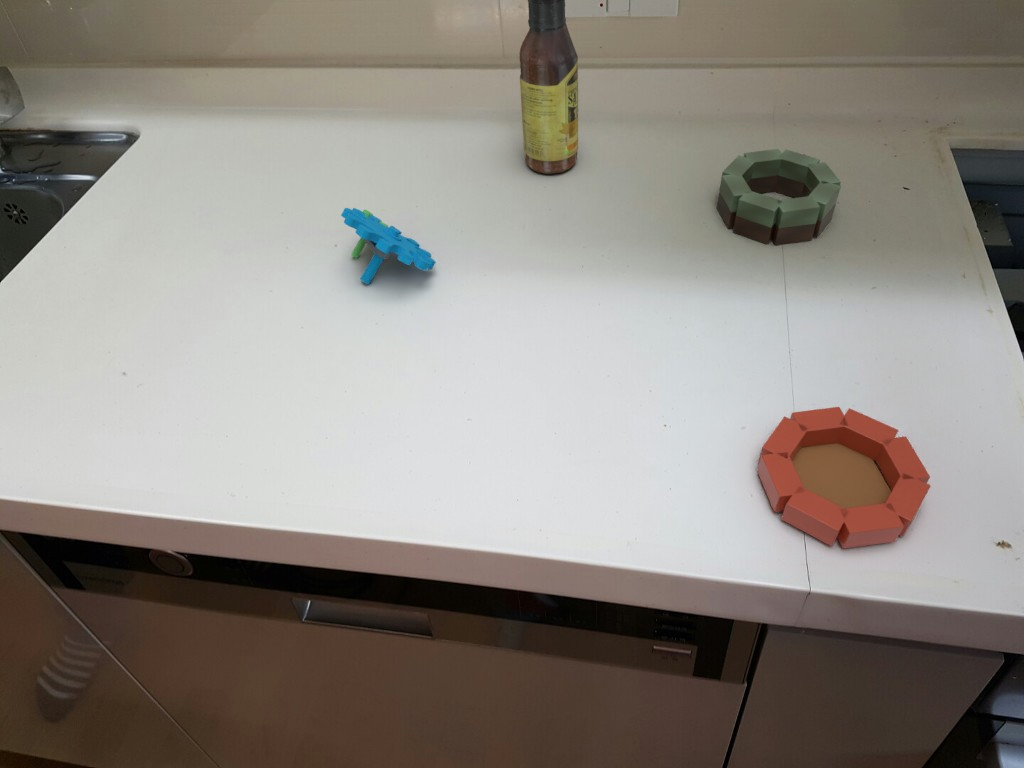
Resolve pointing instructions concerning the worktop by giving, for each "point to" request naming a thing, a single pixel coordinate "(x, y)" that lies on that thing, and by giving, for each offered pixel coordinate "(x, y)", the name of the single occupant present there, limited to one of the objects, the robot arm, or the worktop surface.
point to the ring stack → (772, 216)
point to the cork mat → (841, 475)
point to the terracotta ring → (824, 515)
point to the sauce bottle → (549, 89)
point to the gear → (383, 243)
